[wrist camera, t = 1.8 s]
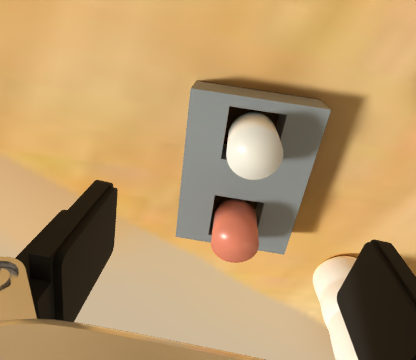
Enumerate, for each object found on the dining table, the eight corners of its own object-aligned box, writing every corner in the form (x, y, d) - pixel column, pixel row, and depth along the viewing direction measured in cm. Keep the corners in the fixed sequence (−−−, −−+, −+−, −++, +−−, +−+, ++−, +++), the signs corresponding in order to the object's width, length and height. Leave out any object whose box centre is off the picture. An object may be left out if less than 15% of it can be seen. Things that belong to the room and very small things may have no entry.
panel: (319, 99, 29) (331, 109, 25) (279, 232, 36) (284, 254, 33) (196, 80, 29) (190, 88, 25) (181, 216, 36) (175, 236, 33)
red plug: (260, 202, 30) (263, 229, 26) (251, 236, 32) (253, 265, 28) (217, 195, 31) (214, 220, 27) (211, 230, 33) (208, 258, 29)
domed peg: (282, 116, 26) (289, 132, 22) (270, 161, 28) (275, 183, 24) (232, 108, 26) (231, 123, 22) (224, 154, 28) (222, 175, 24)
